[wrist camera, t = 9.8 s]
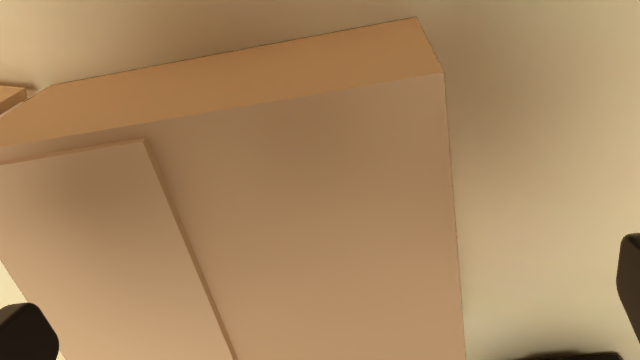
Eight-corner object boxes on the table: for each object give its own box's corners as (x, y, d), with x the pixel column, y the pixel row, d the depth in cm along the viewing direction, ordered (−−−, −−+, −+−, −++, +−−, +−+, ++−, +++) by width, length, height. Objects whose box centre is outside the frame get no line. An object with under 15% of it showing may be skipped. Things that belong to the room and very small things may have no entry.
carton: (454, 394, 27) (479, 522, 21) (136, 417, 30) (87, 535, 24) (416, 17, 17) (445, 76, 12) (-53, 104, 20) (-207, 185, 14)
